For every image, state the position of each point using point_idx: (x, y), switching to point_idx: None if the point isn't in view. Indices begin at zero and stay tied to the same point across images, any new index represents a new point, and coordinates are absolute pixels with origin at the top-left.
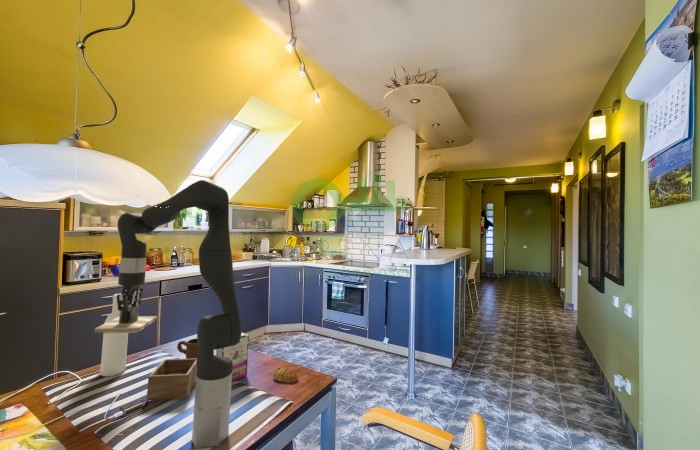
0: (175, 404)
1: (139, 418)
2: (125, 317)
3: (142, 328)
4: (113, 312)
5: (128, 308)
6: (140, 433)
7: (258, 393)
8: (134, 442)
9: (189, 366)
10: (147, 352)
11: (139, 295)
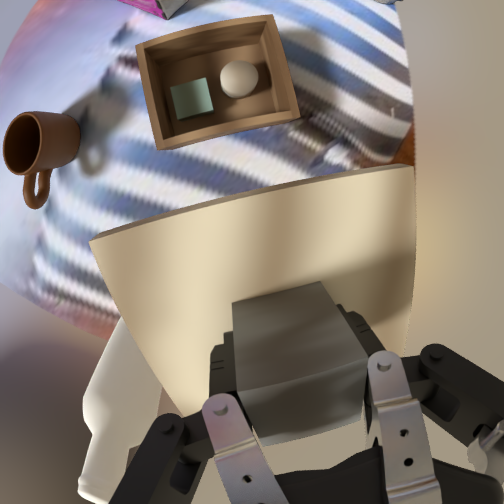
0: (289, 53)
1: (349, 102)
2: (368, 332)
3: (360, 170)
4: (128, 448)
5: (403, 370)
6: (388, 80)
7: None
8: (406, 80)
9: (153, 72)
10: (51, 305)
11: (158, 500)
